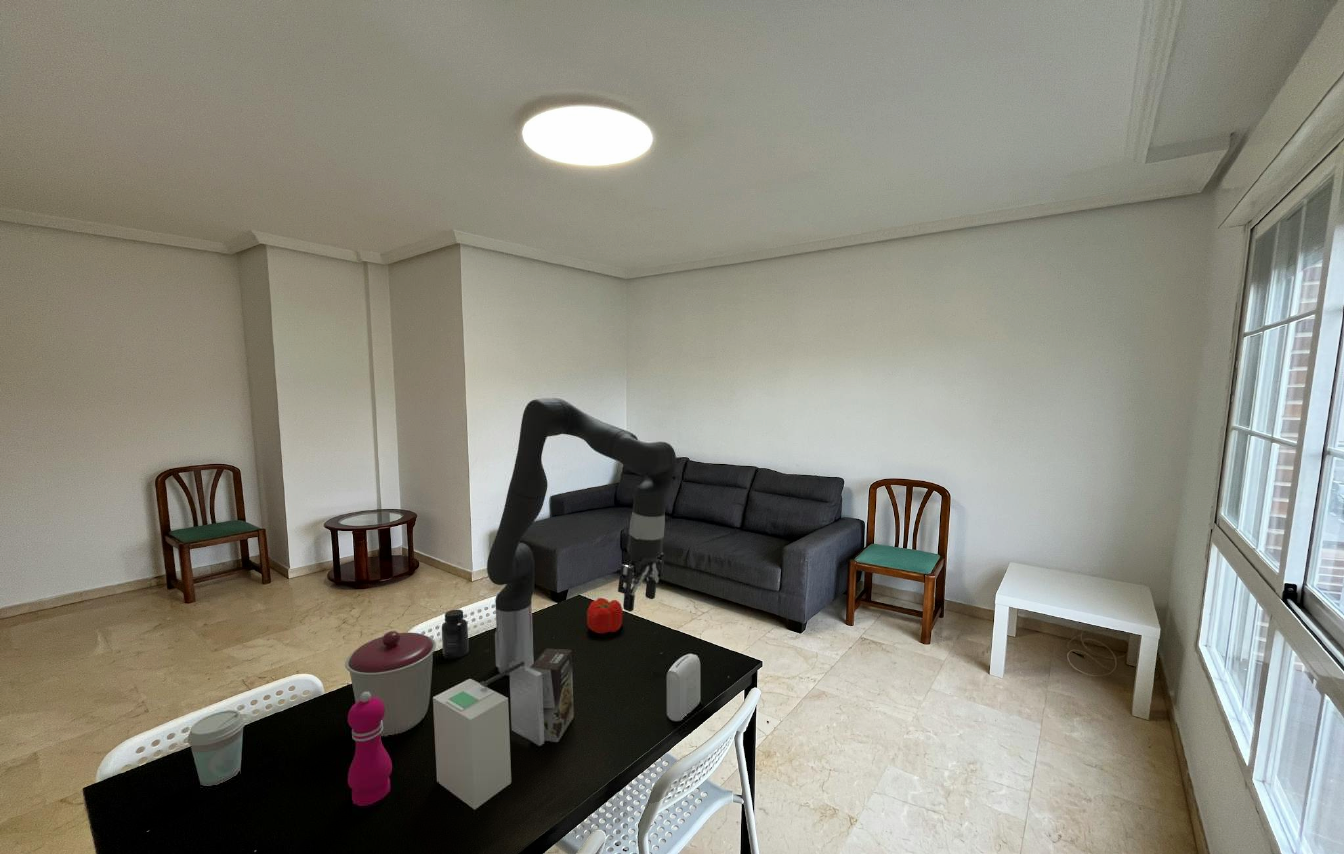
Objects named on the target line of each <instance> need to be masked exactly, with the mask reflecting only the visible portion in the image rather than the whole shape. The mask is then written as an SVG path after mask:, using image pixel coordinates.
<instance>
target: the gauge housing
mask: <svg viewBox="0 0 1344 854" xmlns="http://www.w3.org/2000/svg"><path fill="white" fill-rule="evenodd" d="M432 704H433V705H432V706H433V725H434V726H433V728H434V746H435V747H434V748H435V763H436V765H435V767H436V782H437V783H438V782H439V783H438V784H440V785H441V786H442V787H444V788H445V789H446V790H447V791H449V792H451V794H453V795H454V796H456V797H457V798H458V799H460V800H461V801H462V802H463V803H465V804H467V805H468V806H469V807H470V808H472V809H473V810H476V809H478V808H479V807H480V806H482V805H483V804H485V803H486V802H487V801H488V800H490V799H491V798H492V797H494V796H495V795H497V794H498V793H499V792H501V791H502V790H503V789H505V788H506V787H507V786H509V785H511V784H512V769H511V768H512V767H511V743H510V742H511V741H510V737H511V736H510V718H509V717H510V716H509V713H510V711H509V697H506V696H505V695H503V694H501V693H499V692H497V691H495V690H493V689H492V688H489V687H488V686H487V687H484V686H482V685H480V682H478V681H476V680H474V679H471V678H469V679H466V680H464V681H463V682H461V683H458V684H456V685H455V686H452V687H451V688H448V689H446V690H445V691H443V692H441V693H438V694H436V695H435V696H433V697H432Z"/></svg>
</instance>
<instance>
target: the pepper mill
mask: <svg viewBox="0 0 1344 854" xmlns="http://www.w3.org/2000/svg"><path fill="white" fill-rule="evenodd" d="M384 715H385V706H384V703H383V702H382V701H381V700H380V699H378V698H376V697H371V694H370V693H369V692H364V693H362V694H361V696H360V700H359V701H358V702H356V701H355V703H354V704H353V705H352V706H351V707H350V709H349V711H348V714H347V723H348V725H349V727H350V728H351V734H352V735H351V737H352V740H354V741H355V751H354V757H353V759H352V762H351V764H350V766H349V769H348V773H347V784H348V786H349V788H350V789H352V790H351V799H352V800H351V801H353V802H352V804H353V803H354V804H357V805H358V806H365V805H366V806H367V805H369V804H370V805H371V804H373V803H375V802H377V801H379V800H381V799H382V798H384V797H385V796H386V795H387V794H388V795H389V793H390V791H391V779H390V775H391V773H392V772H393V771H392V770H393V764H392V759H391V757H390V755H389V753H388V752H387V750H386V748H385V747H384V745H383V743H382V736H381V732H382V730H383V722H382V719H383V717H384ZM388 792H389V793H388ZM388 795H387V796H388ZM387 796H386V797H387ZM386 797H385V798H386ZM385 798H384V799H385ZM354 804H353V805H354ZM371 806H372V805H371ZM367 807H368V806H367Z"/></svg>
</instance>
